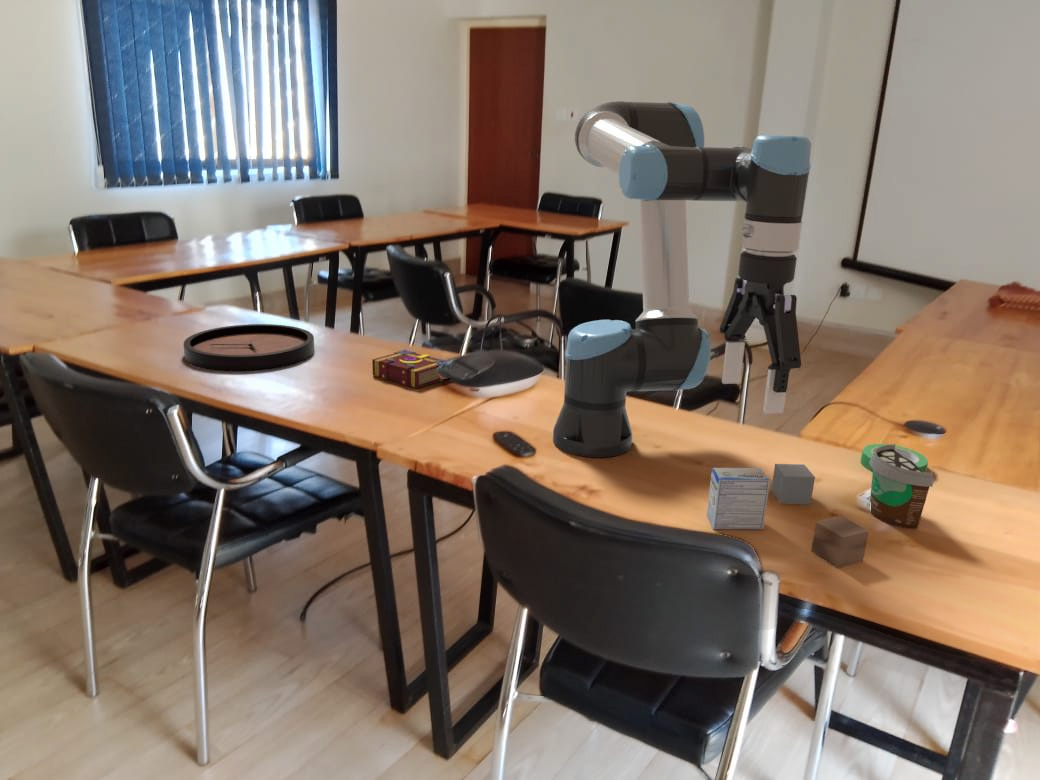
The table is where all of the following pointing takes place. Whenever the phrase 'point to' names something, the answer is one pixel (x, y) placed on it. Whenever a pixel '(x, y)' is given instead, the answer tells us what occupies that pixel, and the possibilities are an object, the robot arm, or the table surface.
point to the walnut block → (839, 541)
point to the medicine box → (737, 498)
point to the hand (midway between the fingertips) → (750, 397)
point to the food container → (897, 488)
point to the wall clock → (249, 347)
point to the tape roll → (905, 452)
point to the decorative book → (408, 368)
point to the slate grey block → (792, 483)
